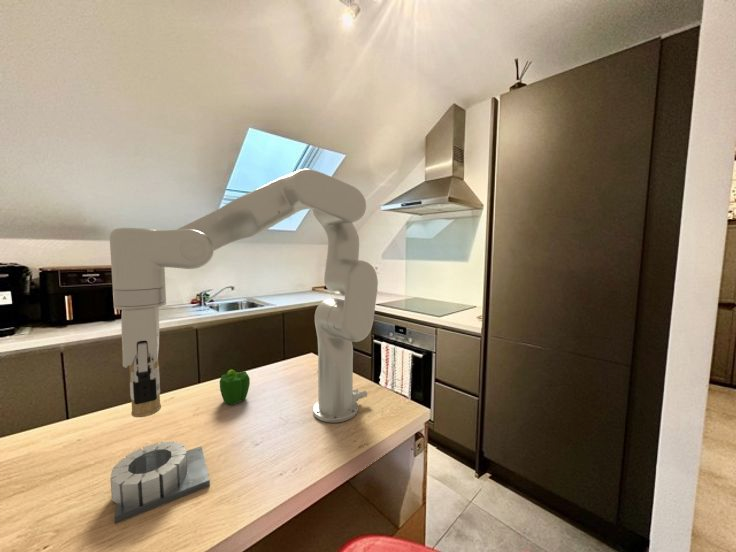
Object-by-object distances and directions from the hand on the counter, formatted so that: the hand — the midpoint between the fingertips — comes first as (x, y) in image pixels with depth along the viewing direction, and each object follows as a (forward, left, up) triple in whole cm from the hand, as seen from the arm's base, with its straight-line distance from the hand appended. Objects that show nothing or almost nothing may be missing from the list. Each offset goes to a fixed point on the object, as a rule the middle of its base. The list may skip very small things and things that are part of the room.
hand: (146, 394), depth 56 cm
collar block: (-2, 0, -18) cm, 18 cm away
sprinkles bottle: (0, 0, -4) cm, 4 cm away
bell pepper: (-20, -26, -18) cm, 38 cm away
